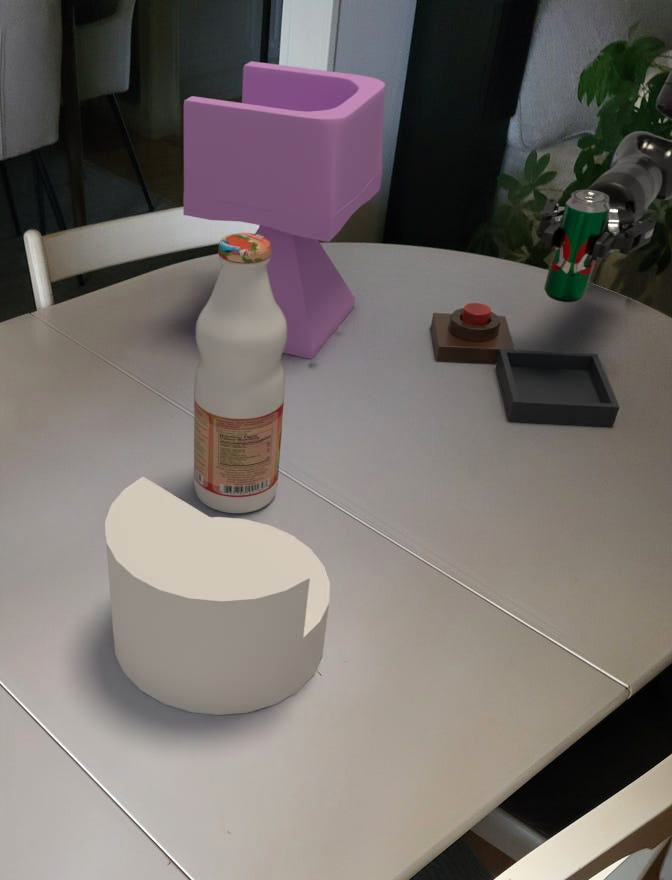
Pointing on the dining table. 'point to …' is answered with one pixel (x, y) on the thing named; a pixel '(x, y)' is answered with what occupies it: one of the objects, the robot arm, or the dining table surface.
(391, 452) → the dining table surface
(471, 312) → the button
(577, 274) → the soda can
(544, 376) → the tray
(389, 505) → the dining table surface
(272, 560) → the notched white cylinder
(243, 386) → the fruit juice
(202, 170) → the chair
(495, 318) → the block
